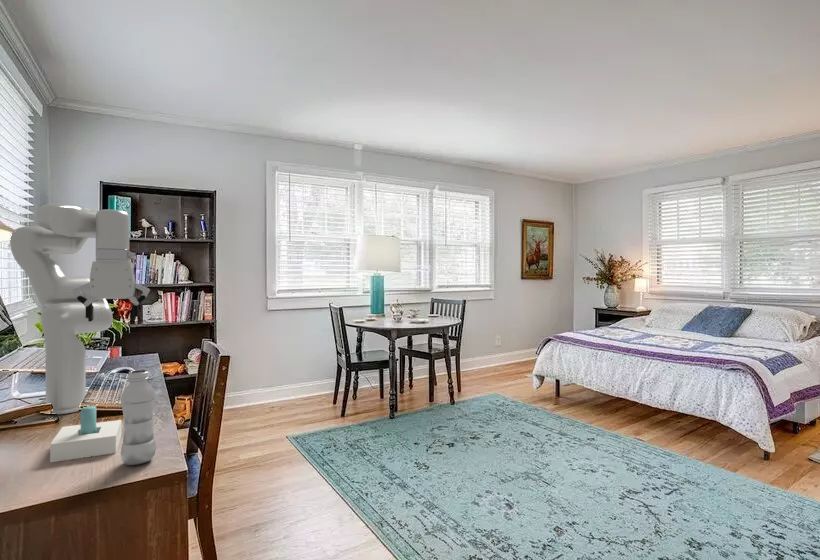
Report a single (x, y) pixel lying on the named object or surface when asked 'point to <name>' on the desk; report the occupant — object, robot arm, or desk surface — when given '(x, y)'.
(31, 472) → the desk surface
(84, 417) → the peg
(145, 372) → the plastic bottle
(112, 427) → the hole block
